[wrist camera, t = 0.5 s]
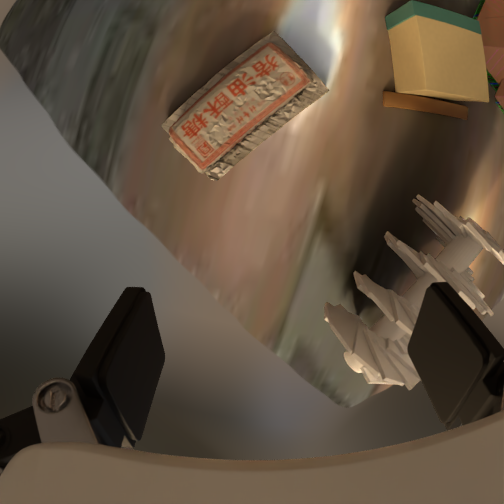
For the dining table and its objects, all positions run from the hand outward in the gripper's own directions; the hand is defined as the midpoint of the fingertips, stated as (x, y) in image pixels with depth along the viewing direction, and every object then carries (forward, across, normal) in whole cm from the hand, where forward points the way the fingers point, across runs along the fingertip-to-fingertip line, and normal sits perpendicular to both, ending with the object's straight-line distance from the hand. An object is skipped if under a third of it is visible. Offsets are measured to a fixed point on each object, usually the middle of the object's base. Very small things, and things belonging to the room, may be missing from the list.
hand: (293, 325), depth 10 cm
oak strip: (+30, -22, -10) cm, 38 cm away
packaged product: (+30, +3, -8) cm, 31 cm away
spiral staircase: (+30, -19, +14) cm, 38 cm away
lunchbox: (+30, -21, -17) cm, 40 cm away
